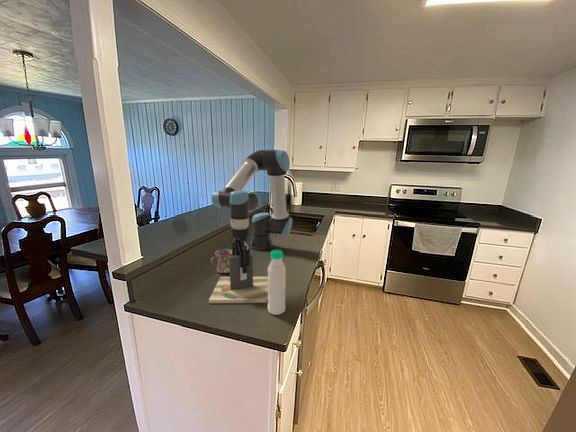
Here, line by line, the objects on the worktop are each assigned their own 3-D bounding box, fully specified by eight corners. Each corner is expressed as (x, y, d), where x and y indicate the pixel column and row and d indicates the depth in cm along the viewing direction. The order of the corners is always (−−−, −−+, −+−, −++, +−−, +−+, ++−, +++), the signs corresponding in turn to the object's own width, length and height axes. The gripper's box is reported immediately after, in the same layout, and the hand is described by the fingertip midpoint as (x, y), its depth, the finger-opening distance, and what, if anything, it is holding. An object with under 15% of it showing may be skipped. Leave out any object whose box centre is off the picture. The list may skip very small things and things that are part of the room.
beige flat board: (220, 279, 118) (220, 276, 118) (269, 279, 119) (268, 276, 119) (209, 303, 99) (208, 299, 98) (267, 302, 100) (267, 299, 99)
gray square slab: (221, 288, 107) (219, 257, 103) (252, 283, 111) (251, 253, 108) (221, 291, 104) (219, 259, 101) (253, 286, 109) (252, 255, 105)
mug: (228, 265, 134) (227, 247, 132) (237, 270, 128) (236, 252, 125) (207, 271, 126) (206, 253, 124) (216, 278, 120) (215, 258, 117)
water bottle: (285, 304, 98) (286, 247, 93) (285, 315, 92) (286, 254, 86) (268, 304, 98) (267, 247, 92) (267, 315, 91) (266, 254, 86)
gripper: (223, 224, 106) (225, 272, 111) (241, 233, 93) (242, 287, 99) (238, 222, 111) (239, 268, 116) (258, 230, 98) (258, 282, 103)
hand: (241, 277), depth 107 cm, fingers closed on gray square slab, 4 cm apart
